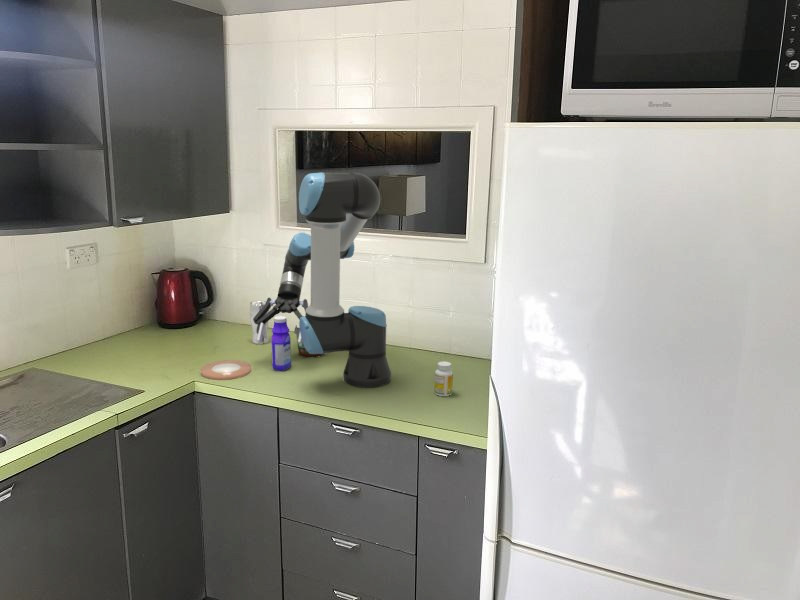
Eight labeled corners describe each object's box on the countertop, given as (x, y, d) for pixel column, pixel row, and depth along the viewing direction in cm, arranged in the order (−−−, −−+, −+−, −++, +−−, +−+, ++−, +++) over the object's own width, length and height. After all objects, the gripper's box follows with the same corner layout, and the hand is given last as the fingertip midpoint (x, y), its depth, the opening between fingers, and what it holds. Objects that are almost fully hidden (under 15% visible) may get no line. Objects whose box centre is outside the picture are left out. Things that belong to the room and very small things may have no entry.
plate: (261, 367, 217) (261, 364, 216) (229, 383, 203) (229, 379, 202) (223, 360, 223) (223, 357, 223) (189, 374, 209) (189, 371, 209)
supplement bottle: (436, 397, 194) (437, 366, 192) (432, 390, 199) (433, 361, 197) (454, 396, 195) (455, 366, 193) (449, 390, 200) (450, 360, 198)
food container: (289, 357, 228) (289, 329, 225) (295, 351, 234) (294, 324, 231) (323, 359, 226) (323, 332, 223) (328, 354, 231) (328, 327, 229)
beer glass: (257, 345, 240) (255, 306, 236) (247, 341, 245) (245, 302, 241) (273, 342, 244) (272, 303, 241) (263, 337, 249) (262, 299, 246)
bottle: (285, 372, 213) (284, 320, 209) (269, 370, 214) (267, 319, 210) (293, 365, 220) (292, 315, 216) (277, 363, 221) (276, 313, 217)
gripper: (327, 295, 226) (318, 350, 215) (257, 292, 229) (245, 346, 218) (324, 283, 220) (315, 339, 209) (252, 280, 222) (239, 335, 211)
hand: (279, 343), depth 213 cm, fingers open, 13 cm apart
